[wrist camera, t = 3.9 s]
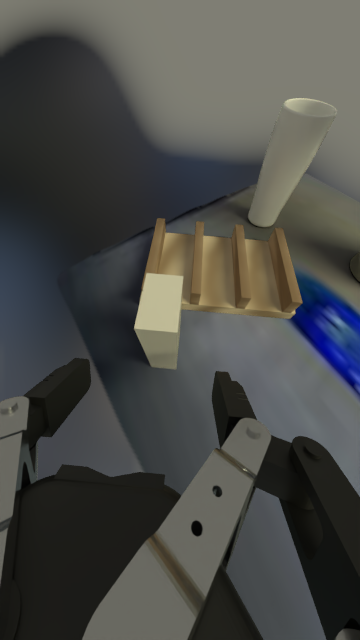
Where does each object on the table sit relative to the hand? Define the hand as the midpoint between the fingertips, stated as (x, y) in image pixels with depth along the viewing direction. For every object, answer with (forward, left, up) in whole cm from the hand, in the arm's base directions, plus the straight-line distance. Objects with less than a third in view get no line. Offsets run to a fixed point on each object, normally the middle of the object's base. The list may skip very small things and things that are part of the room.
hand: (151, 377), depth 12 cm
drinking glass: (-15, -34, -11) cm, 38 cm away
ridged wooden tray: (-6, -19, -10) cm, 22 cm away
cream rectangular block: (0, -6, -10) cm, 12 cm away
